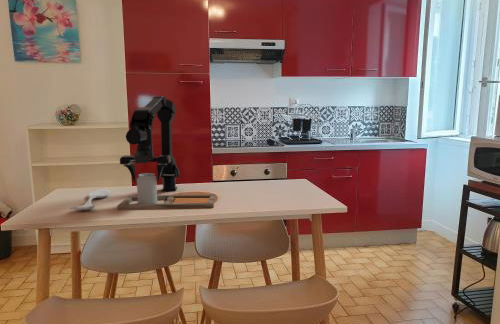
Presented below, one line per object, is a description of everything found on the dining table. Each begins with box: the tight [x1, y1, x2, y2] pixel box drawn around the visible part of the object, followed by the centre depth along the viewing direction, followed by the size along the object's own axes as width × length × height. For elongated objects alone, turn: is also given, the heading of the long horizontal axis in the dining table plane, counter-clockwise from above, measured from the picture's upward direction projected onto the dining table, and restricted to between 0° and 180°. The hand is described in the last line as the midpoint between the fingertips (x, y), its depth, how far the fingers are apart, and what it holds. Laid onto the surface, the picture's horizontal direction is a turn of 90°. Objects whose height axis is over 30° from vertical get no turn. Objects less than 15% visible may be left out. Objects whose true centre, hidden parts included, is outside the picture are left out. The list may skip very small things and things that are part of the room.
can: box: [136, 172, 158, 204], centre depth 154 cm, size 8×8×12 cm
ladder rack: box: [116, 193, 216, 211], centre depth 155 cm, size 16×36×2 cm, turn 92°
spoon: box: [69, 188, 111, 211], centre depth 156 cm, size 9×32×4 cm, turn 8°
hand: (146, 181), depth 154 cm, fingers open, 9 cm apart
